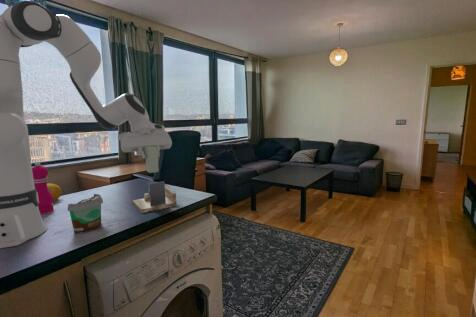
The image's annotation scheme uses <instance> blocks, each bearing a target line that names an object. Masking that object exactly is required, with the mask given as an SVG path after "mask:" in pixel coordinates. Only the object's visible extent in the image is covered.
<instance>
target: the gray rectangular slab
mask: <svg viewBox="0 0 476 317" xmlns="http://www.w3.org/2000/svg"><path fill="white" fill-rule="evenodd" d="M165 187H166V186H165V181H158V182H153V183H152V182H150V183H148V193H149V197H150V206H156V205H161V204H166V199H165Z"/></svg>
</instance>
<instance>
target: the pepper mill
mask: <svg viewBox="0 0 476 317" xmlns="http://www.w3.org/2000/svg"><path fill="white" fill-rule="evenodd" d="M32 173H33V180H34V187H35V188H36V189H37V192H38V199H39V205H38V207H39V211H40V214H41V215H44V213H45V214H48V212H49V213H51V212H53V211H54V209H55V208H54V205H53V204H54V202H55V201H54V198H53V196H52V194H51V193H50V191H49V190H48V187H47V184H48V181H49V180H48V175H49V169H48V168H47V167H45V166H43V165H41V162H40V161H36V162H35V163H34V166H32Z"/></svg>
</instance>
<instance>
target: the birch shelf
mask: <svg viewBox="0 0 476 317" xmlns="http://www.w3.org/2000/svg"><path fill="white" fill-rule="evenodd" d="M165 199H166V204H161V205H156V206H150V197H149V192H148V193H147V192H146V193H144V194H143V198H138V199H133V200H132V205H133V206H134V207H135V208H136V209H137V210H138V211H139V212H140V213H141V214H145V213H149V211H150V212H155V211H159V210H163V208H164V209H167V208H168V207H169V208H172V207H173V206H174V207H177V193H176V192H175V191H173V190H172V189H170V188H169V187H167V186H165ZM158 209H159V210H158ZM154 210H155V211H154Z"/></svg>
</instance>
